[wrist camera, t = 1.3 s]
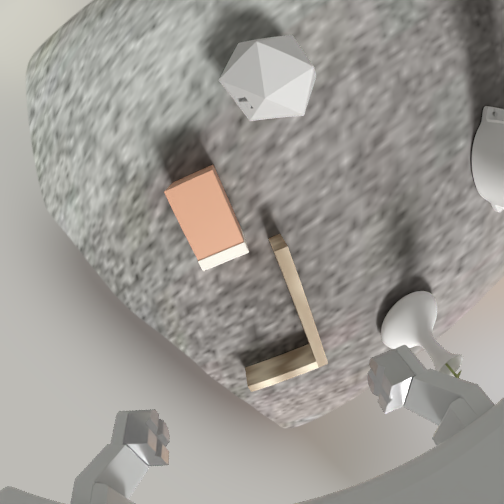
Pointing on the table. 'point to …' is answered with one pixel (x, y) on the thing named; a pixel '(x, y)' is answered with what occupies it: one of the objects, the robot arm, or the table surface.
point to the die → (269, 78)
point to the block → (207, 218)
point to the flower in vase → (418, 330)
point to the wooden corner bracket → (312, 352)
